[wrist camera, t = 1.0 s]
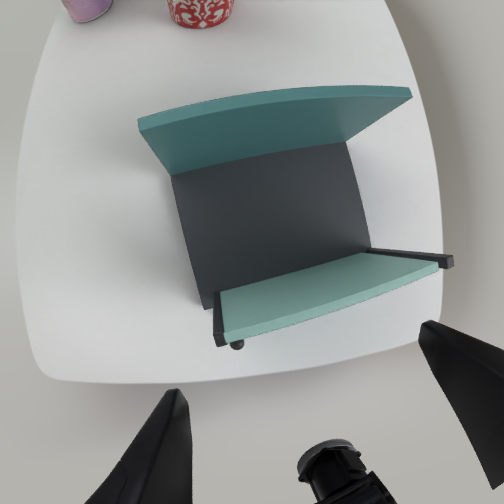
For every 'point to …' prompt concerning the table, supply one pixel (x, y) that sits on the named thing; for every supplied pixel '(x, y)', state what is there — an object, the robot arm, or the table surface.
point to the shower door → (309, 294)
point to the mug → (200, 12)
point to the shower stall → (270, 180)
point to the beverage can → (86, 9)
